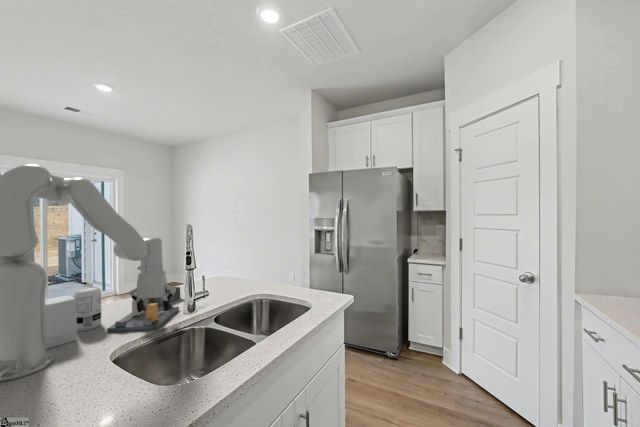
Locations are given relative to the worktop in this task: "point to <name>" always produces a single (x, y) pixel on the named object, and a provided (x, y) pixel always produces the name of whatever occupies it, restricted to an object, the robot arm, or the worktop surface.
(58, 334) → the supplement box
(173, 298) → the beverage carton
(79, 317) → the supplement can
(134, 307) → the cream fader
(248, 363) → the worktop surface
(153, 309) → the orange fader
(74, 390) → the worktop surface
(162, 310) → the console
